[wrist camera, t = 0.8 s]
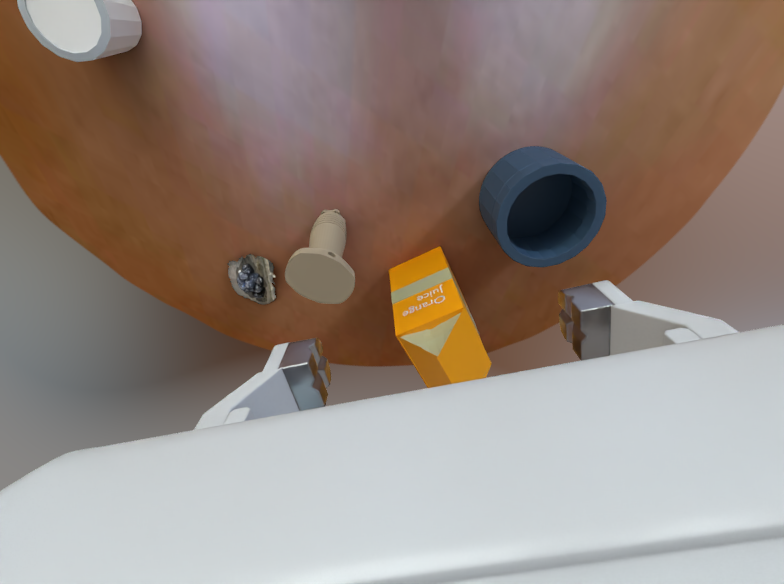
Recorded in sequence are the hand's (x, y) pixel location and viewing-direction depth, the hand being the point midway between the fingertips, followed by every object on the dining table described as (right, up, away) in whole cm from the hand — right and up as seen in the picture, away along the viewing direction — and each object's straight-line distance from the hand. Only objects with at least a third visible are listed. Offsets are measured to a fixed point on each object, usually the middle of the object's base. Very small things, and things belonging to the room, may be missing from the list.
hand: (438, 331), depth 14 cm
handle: (-9, +10, +37) cm, 39 cm away
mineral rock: (-20, +3, +40) cm, 45 cm away
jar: (+15, +13, +36) cm, 41 cm away
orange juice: (+3, +3, +42) cm, 42 cm away
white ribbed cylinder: (-28, +28, +25) cm, 47 cm away
